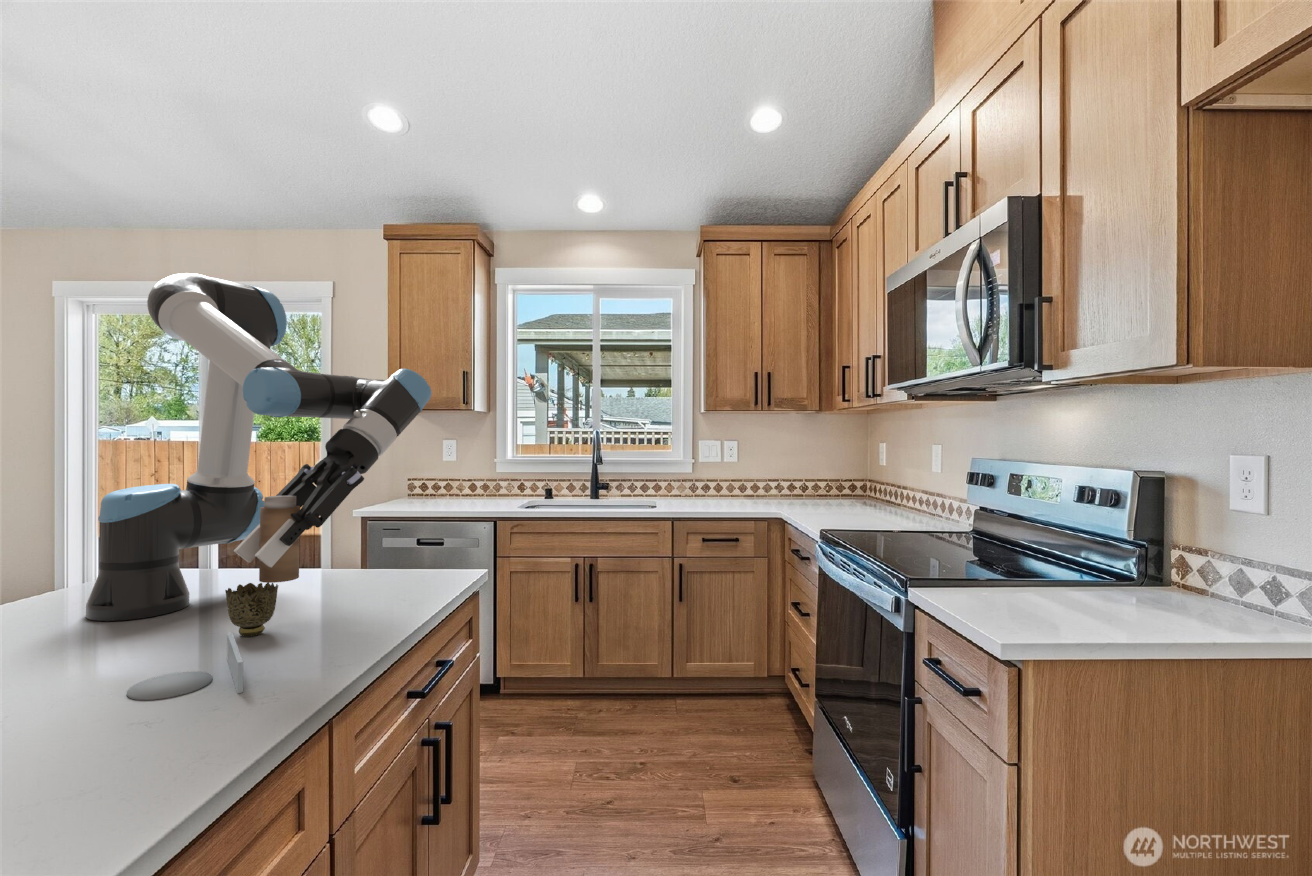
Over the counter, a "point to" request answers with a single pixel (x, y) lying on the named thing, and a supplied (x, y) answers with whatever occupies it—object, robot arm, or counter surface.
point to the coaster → (169, 685)
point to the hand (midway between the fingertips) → (252, 558)
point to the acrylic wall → (235, 662)
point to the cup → (251, 607)
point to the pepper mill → (270, 523)
